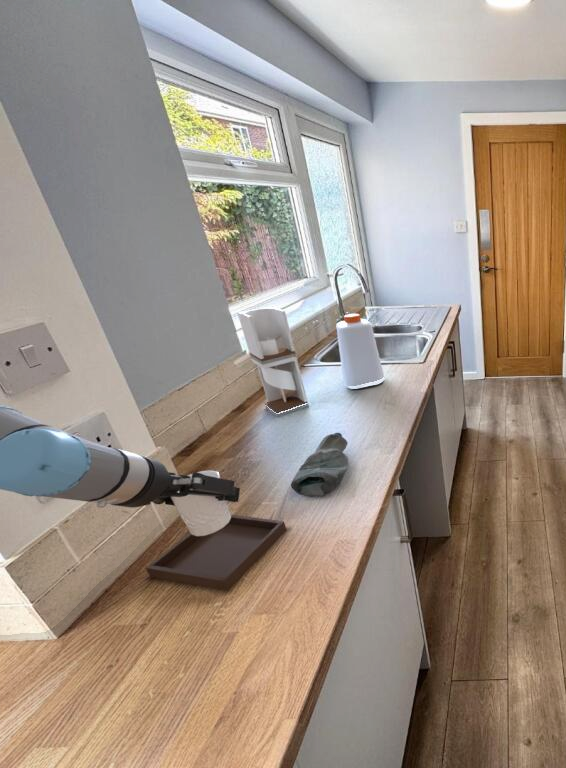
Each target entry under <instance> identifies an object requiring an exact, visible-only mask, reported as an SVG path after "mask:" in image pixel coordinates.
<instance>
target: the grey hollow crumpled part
mask: <svg viewBox="0 0 566 768" xmlns="http://www.w3.org/2000/svg"><path fill="white" fill-rule="evenodd" d="M347 446H348V441H347V440H346V438H345V437H343V435H342V433H340V432H335V433H330V434H328V435H326V436H324V437H323V438H322V439H321V441H320V442H319V444H318V446H317V448H316V449H315V451H314V452H313V453H312V454H310V455H309V456H308V457H307V458H306V460H304V462H303V464H302V465H301V466H300V467H299V469H298V470H297V472H296V473H295V475H294V477H293V479H292V481H291V483H290V487H291V490H293V491H294V492H295V493H296V494H299V495H301V496H302V497H307V498H308V497H309V498H313V497H314V498H315V497H324V496H327V495H330V494H331V493H333V492H334V491H336V489H338V488H339V486H340V485H341V483H342V481H343V479H344V476H345V474H346V472H347V470H348V468H349V457H348V456H347V454H346V453H344V451H345V450H346V448H347Z"/></svg>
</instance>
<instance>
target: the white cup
mask: <svg viewBox="0 0 566 768" xmlns="http://www.w3.org/2000/svg"><path fill="white" fill-rule="evenodd" d="M196 473H201V474H203V475H206V476H211V477H216V478H221V476H220V473H219V472H218V471H216V470H201V471H197V472H196ZM192 474H193V473H191V474H187V476H190V477H192ZM179 491H180V490H179ZM179 491H178V493H179ZM171 499H172V501H173V503H174V505H175V506H174V507H175V508H176V509H175V510H176V511H177V512H178V514H179V516H180V518H181V520H182V522H183V523H184V524H185V525H186V528H187V529H188V531H189V533H191V534H192V535H194V536H205V535H209V534H212V533H214V532H216V531H218V530H220V529H222V528H223V527H224V526H225V525H227V524H228V523H229V521H230V519H231V515H232V514H231V512H230V509H229V503H228V501H226V500H223V501H218V499H216V498H215V496H200V495H187V496H183V497H171ZM230 514H231V515H230Z"/></svg>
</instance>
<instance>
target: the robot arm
mask: <svg viewBox="0 0 566 768" xmlns="http://www.w3.org/2000/svg"><path fill="white" fill-rule="evenodd" d="M191 474H192V477H190V476H188V475H184V474H176V473H175V472H172V471H171V472H170V471H168V469H167V468H166V466H165V465H164V464H163V463H162V462H161V461H159V460H157V459H153V458H150V457H147V456H143V455H139V454H137V453H134V452H130V451H127V450H123V449H120V448H118V447H117V448H116V447H109V446H106V445H104V444H103V445H102V444H100V443H97V442H94V441H91V440H87V439H85V438H82V437H79V436H77V435H75V434H72V433H71V432H70V433H69V432H67V431H65V430H62V429H60V428H59V427H58V428H57V427H55V426H52V425H48V424H46V423H43V422H41V421H39V420H37V419H34V418H32V417H30V416H28V415H27V414H23V412H21V411H19V410H17V409H15V408H12V407H9V406H5V405H2V404H0V490H2V491H6V492H13V493H15V494H19V495H22V496H25V497H33V496H34V497H46V498H53V499H62V500H70V501H71V500H72V501H80V502H87V503H96V507H97V508H104V507H106V506H107V505H111V506H115V507H122V508H123V507H124V508H140V507H144V506H149V505H151V503H153V504H154V505H162V504H164V505H169V506H174V507H175V505H174V503H173V501H172V499H171V497H183V496H187V495H200V496H215V498H216V499H218V501H223V500H226V501H227V502H230V503H231V502H232V503H238V502H239V500H240V491H241V488H240V487H237V486H235V483H236V481H235V480H232V479H231V480H230V479H226V478H222V477H220V478H216V477H211V476H206V475H203V474H201V473H197V472H193V473H191ZM179 490H180V491H179ZM178 491H179V493H178Z"/></svg>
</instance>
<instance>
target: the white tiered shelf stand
mask: <svg viewBox="0 0 566 768" xmlns="http://www.w3.org/2000/svg"><path fill="white" fill-rule="evenodd" d="M237 315H238V319H239V322H240V326H241V329H242V332H243V336H244V339H245V343H246V347H247V350H248V353H249V357H250V359H251V362H252V363H253V364H255V365H256V366H257V370H258V374H259V377H260V380H261V383H262V387H263V390H264V394H265V398H266V400H267V401H265V402H264V406H265V405H267V406H268V407H269V408H270V409H272V410H273V411H274V412H276V413H279V412H281V411H285V410H288V409H291V408H293V407H296V406H299V405H302V404H305V403H308V404H306V405H303V406H300V407H297V408H295V409H292V410H289V411H286V412H283V413H280V414H276V413H274V412H273V411H272V410H270V409H269V408H268V407H267V406H265V409H267V410H268V411H269V412H271V413H272V414H273V415H274V416H276V417H277V418H279V417H282V416H285V415H288V414H291V413H294V412H297V411H299V410H303V409H305V408H308V407H309V401H308V398H307V394H306V393H307V392H306V389H305V386H304V382H303V378H302V374H301V370H300V366H299V365H300V364H299V361H298V358H297V354H296V349H295V345H294V341H293V337H292V333H291V330H290V326H289V320H288V318H287V313H286V310H284V309H282V308H278V307H275V306H267V307H261V308H255V309H249V310H241V311H237Z"/></svg>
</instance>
